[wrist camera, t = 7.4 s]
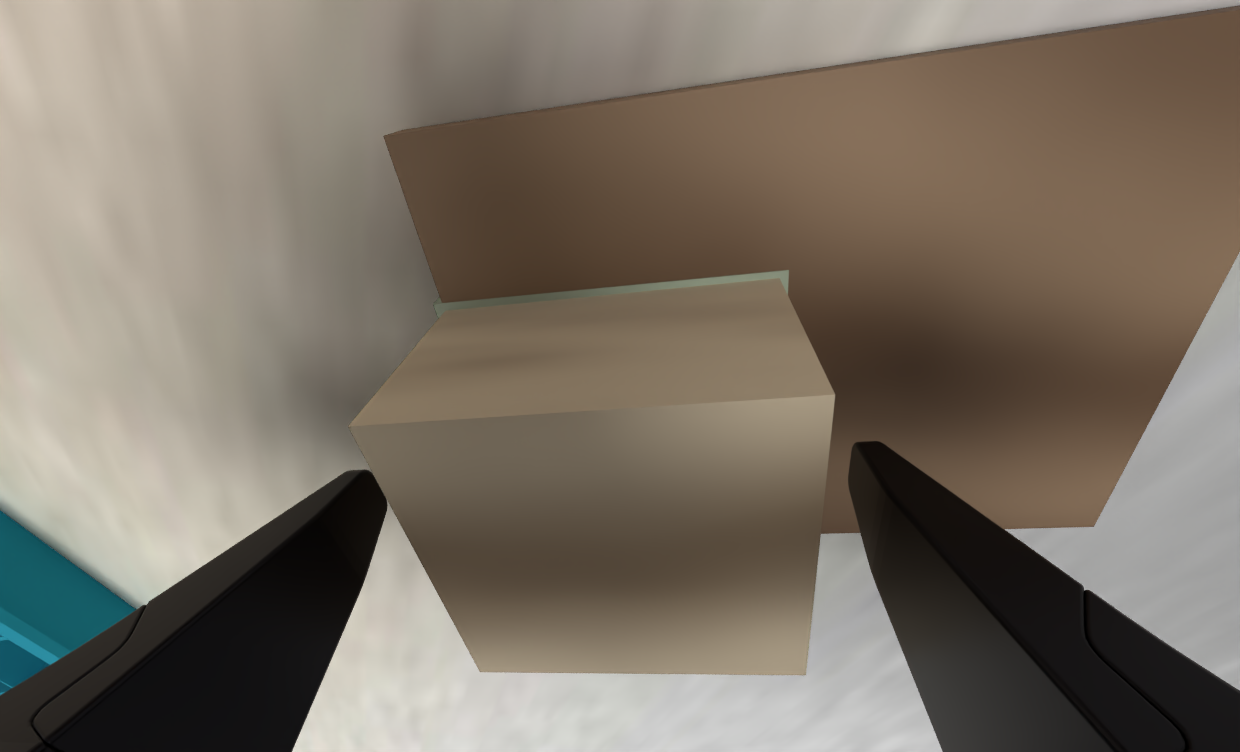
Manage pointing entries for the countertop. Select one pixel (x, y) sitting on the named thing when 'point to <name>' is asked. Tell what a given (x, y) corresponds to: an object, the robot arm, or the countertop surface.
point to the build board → (897, 235)
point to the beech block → (614, 479)
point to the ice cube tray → (45, 605)
